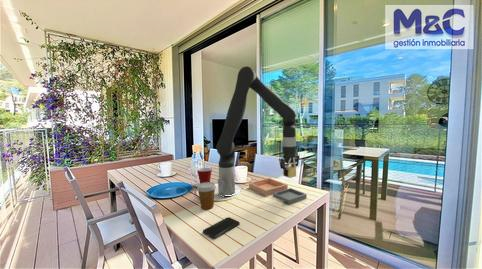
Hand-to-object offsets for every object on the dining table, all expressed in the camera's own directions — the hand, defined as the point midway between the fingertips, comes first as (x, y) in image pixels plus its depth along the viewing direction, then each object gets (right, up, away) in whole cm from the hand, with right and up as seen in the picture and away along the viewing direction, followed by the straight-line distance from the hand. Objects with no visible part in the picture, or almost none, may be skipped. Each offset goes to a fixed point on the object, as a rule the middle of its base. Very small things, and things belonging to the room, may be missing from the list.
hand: (289, 175), depth 114 cm
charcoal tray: (0, -13, +1) cm, 13 cm away
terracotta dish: (-10, -12, +14) cm, 21 cm away
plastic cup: (-51, -12, +24) cm, 58 cm away
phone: (-35, -17, -28) cm, 48 cm away
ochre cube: (0, -1, 0) cm, 1 cm away
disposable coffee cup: (-45, -15, -8) cm, 48 cm away
